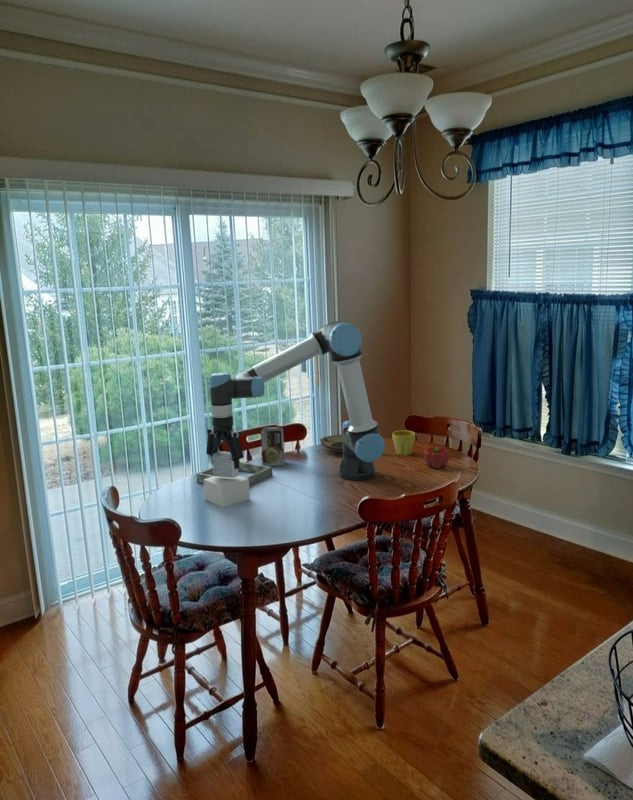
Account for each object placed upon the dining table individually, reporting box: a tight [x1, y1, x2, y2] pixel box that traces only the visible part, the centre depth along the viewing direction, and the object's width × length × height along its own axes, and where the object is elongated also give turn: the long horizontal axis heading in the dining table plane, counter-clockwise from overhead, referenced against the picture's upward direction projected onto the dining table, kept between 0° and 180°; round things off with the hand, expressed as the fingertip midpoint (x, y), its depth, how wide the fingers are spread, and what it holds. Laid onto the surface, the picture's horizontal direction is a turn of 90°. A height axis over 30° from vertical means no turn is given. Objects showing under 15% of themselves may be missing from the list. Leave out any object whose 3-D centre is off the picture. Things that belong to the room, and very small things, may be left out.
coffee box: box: [260, 426, 286, 467], centre depth 267 cm, size 9×6×16 cm
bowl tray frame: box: [196, 460, 273, 487], centre depth 249 cm, size 22×21×4 cm
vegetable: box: [423, 444, 450, 469], centre depth 255 cm, size 11×10×10 cm
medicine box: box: [212, 450, 236, 478], centre depth 224 cm, size 8×4×9 cm, turn 71°
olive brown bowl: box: [319, 434, 343, 454], centre depth 283 cm, size 22×30×8 cm
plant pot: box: [391, 429, 416, 456], centre depth 277 cm, size 10×10×10 cm
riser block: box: [203, 474, 251, 508], centre depth 225 cm, size 12×12×8 cm
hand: (225, 474), depth 224 cm, fingers closed on medicine box, 8 cm apart
